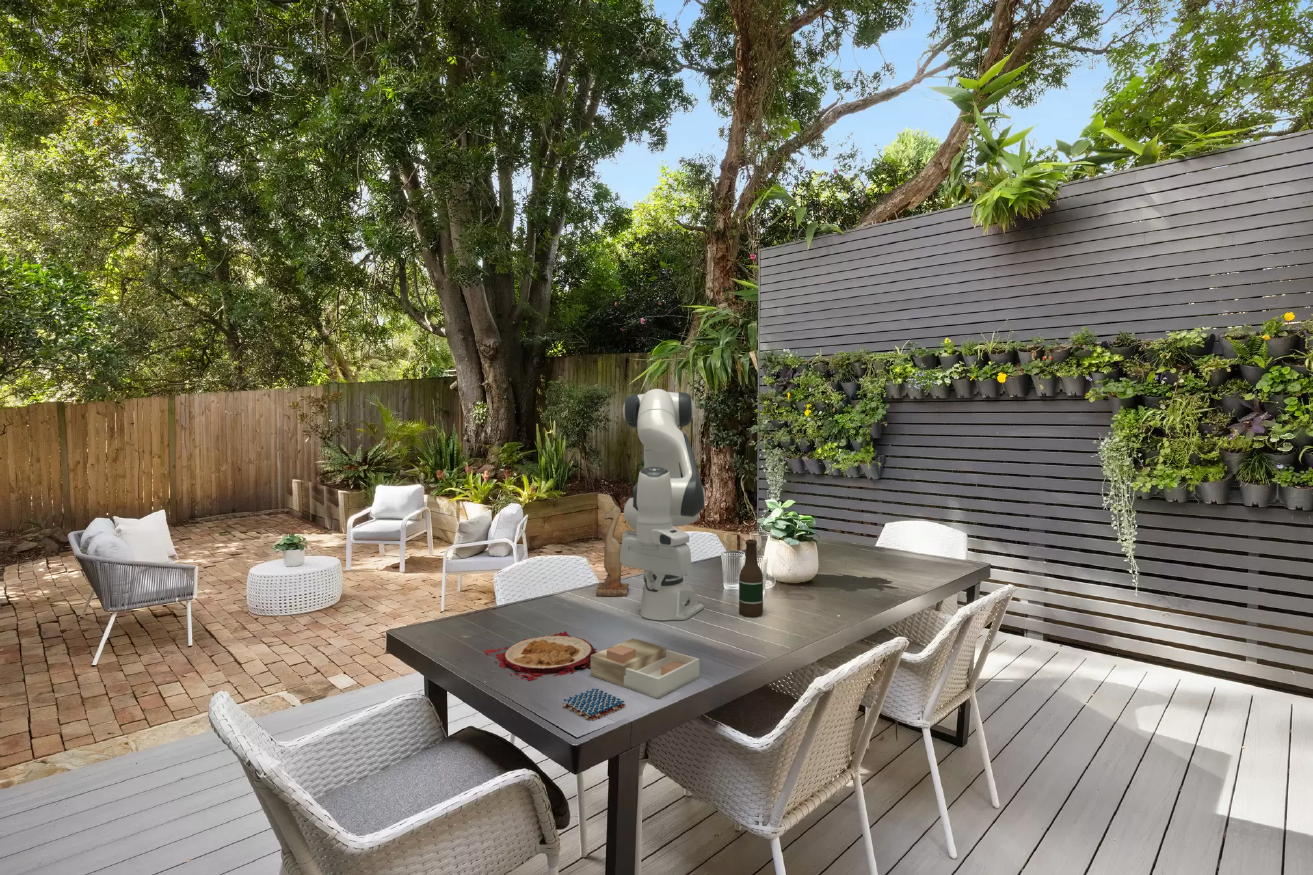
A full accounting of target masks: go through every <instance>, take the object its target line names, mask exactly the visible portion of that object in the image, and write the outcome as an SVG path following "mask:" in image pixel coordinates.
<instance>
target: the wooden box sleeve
mask: <svg viewBox="0 0 1313 875" xmlns="http://www.w3.org/2000/svg"><path fill="white" fill-rule="evenodd" d="M618 645H623V646H627V647H630V648H633V649H636V657H635V658H633V659H630V660H628V661H626V662H624V663H620V662H617V661H613V660H610V659H607V650H608V649H611V648H613V647H616V646H618ZM666 650H667V648H666V646H662V645H660V644H659V645H658V644H655V643H651V642H648V641H644V640H640V639H637V638H634V637H633V638H631V639H628V640H625V641H622V642H620V643H618V644H615V645H613V646H610V647H608V648H606V649H603V650H600V651H597V653H595V654H592V655H591V661H590V663H591V668H590V676H592V677H594V678H597V679H601V680H602V681H607V682H609V683H612V684H614V685H617V686H620V687H622V688H623V687H624V676H626V668H629V669H632V670H636V671H637V670H639V669H641V668H643V667H645V666H647V665H650V664H652V663H654V662H656V661H658V660H660V659H663V658H665V657H666ZM624 688H625V687H624Z"/></svg>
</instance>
